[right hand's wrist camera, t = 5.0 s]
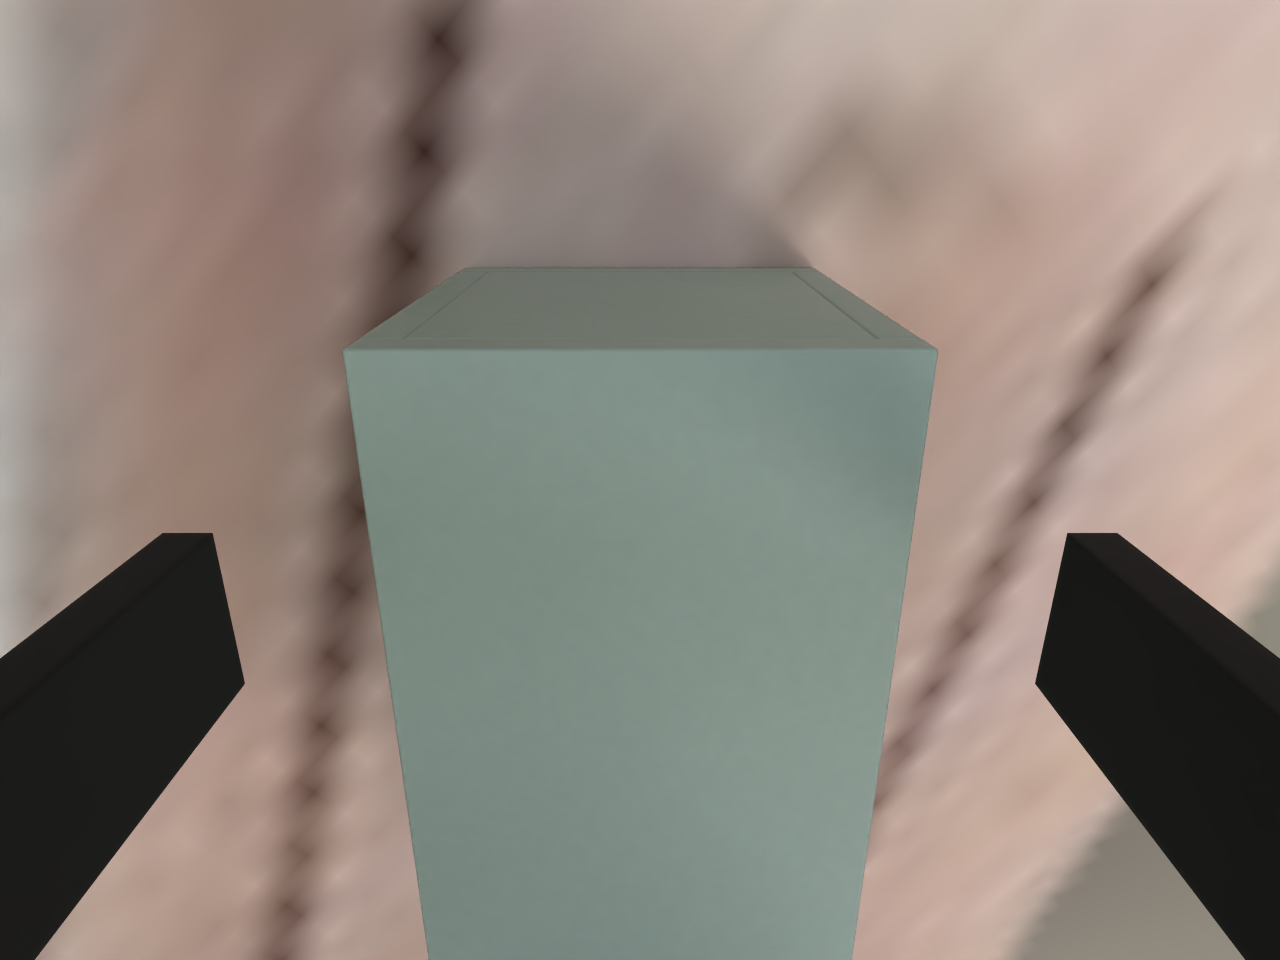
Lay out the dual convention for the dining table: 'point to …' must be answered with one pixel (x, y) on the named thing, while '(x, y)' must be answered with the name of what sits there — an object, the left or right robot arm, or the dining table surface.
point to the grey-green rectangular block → (640, 601)
